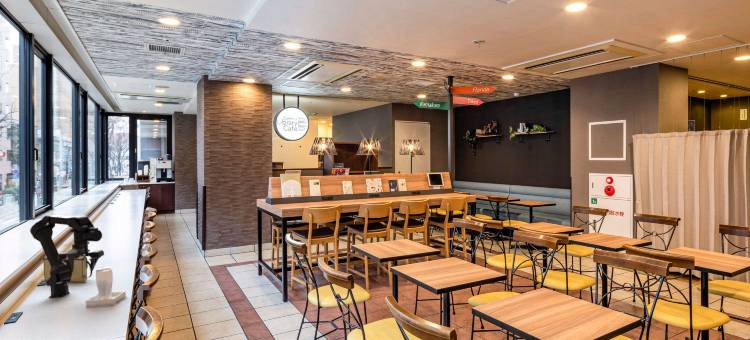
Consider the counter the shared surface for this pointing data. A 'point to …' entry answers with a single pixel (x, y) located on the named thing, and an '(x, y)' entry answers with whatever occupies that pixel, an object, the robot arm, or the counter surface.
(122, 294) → the tray
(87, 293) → the counter surface
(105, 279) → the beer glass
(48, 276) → the clutch purse
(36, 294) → the counter surface
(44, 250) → the robot arm
